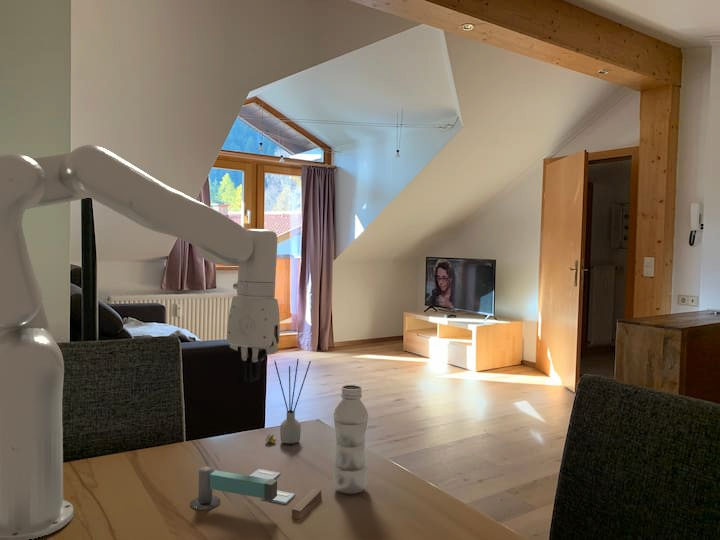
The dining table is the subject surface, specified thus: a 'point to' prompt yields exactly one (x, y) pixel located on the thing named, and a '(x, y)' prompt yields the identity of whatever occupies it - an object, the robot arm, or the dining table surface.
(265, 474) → the label cards
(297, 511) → the sill
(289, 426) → the reed diffuser
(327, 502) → the dining table surface
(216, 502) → the pivot plate
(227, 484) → the boom bar
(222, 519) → the dining table surface
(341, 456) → the plastic bottle
